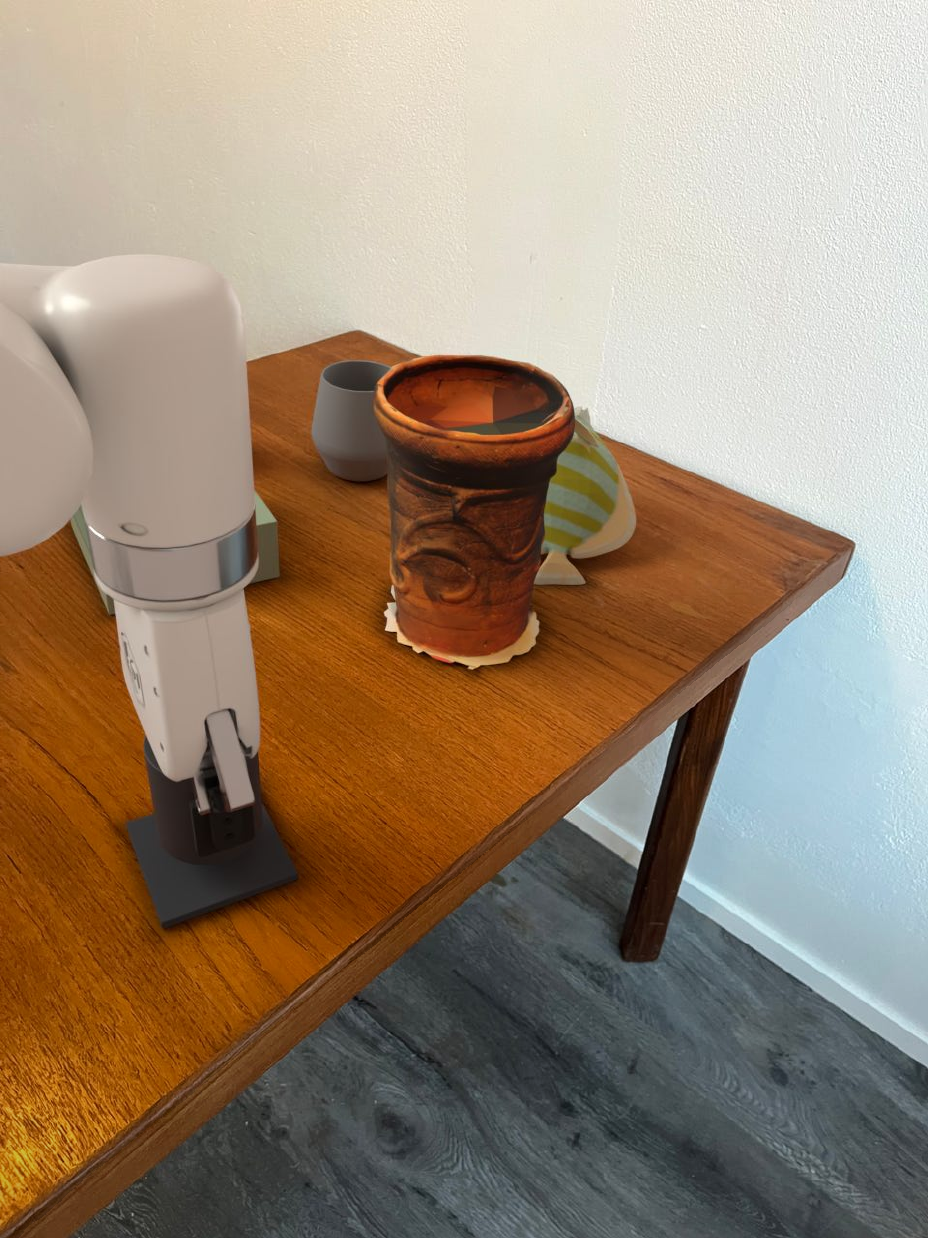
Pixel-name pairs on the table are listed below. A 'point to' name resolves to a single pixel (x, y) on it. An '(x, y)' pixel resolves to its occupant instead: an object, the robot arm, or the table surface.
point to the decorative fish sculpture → (584, 506)
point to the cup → (350, 421)
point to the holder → (177, 816)
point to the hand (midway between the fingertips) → (206, 801)
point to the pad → (207, 873)
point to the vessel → (468, 499)
